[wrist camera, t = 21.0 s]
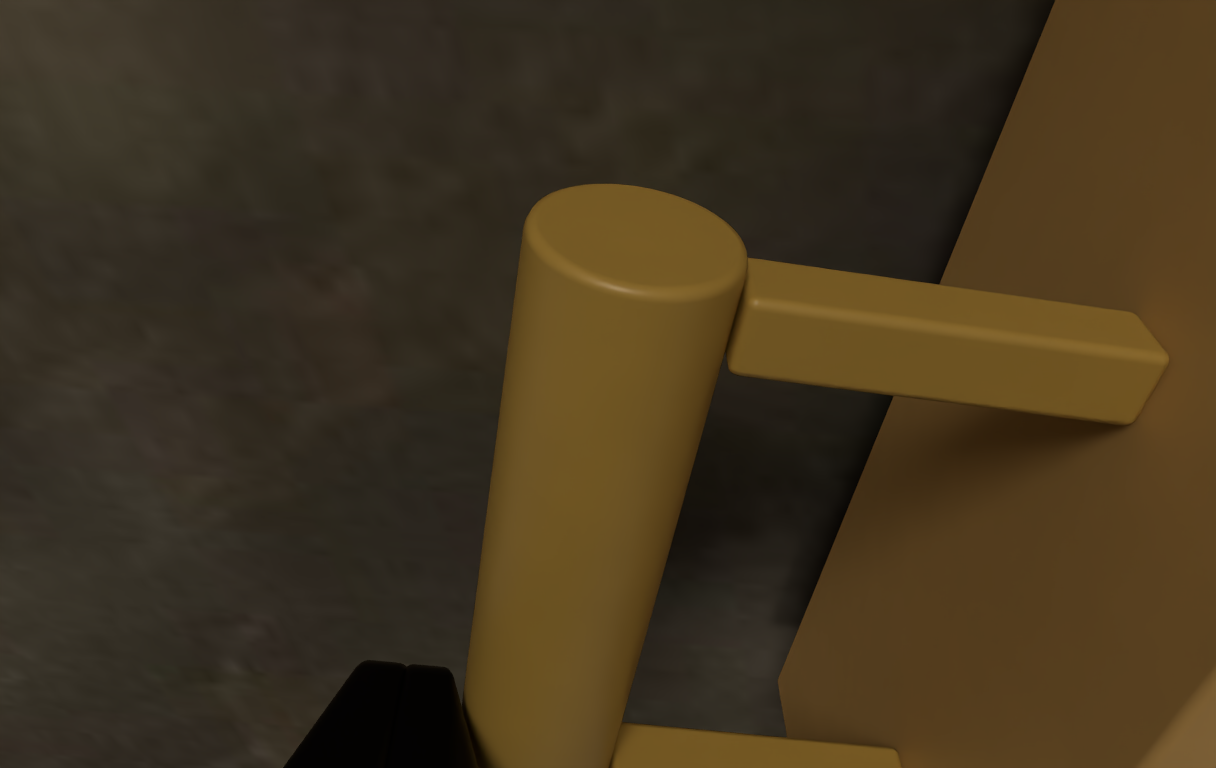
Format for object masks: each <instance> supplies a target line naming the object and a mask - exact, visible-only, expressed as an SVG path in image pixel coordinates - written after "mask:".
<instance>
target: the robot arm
mask: <svg viewBox="0 0 1216 768" xmlns="http://www.w3.org/2000/svg"><path fill="white" fill-rule="evenodd" d="M283 768H478V766H477V762H476V758H475V754H474V751H473V747H472V743H471V740H470V736H469V732H468V729H467V725H466V721H465V718H464V714H463V710H462V707H461V703H460V699H459V695H458V692H457V688H456V684H455V681H454V677H453V675H452V673H451V671H450V670H449V669H447V668H445V667H438V666H427V665H417V664H412V665H409V666H407V667H406V666H405V665H404V664H401V663H396V662H385V661H374V660H366V661H363V662H362V663H360V664H359V665H358V666H357V667H356V668H355V669H354V671H353V672H352V673H351V675H350V676H349V678H348V679H347V680H346V682H345V683H344V684H343V686H342V687H341V689H340V690H339V691H338V693H337V694H336V696H335V697H334V698H333V700H332V701H331V702H330V704H329V705H328V707H327V708H326V709H325V711H324V712H323V713H322V715H321V716H320V718H319V719H318V720H317V722H316V723H315V724H314V726H313V727H312V729H311V730H310V731H309V733H308V734H307V735H306V737H305V738H304V740H303V741H302V742H301V744H300V745H299V746H298V748H297V749H296V751H295V752H294V753H293V755H292V756H291V757H290V759H289V760H288V762H287V763H286V764H285V766H284V767H283Z"/></svg>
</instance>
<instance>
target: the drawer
mask: <svg viewBox="0 0 1216 768" xmlns="http://www.w3.org/2000/svg"><path fill="white" fill-rule="evenodd" d="M725 352H726V357H727V363H728V368H729V370H730V372H731V373H733V374H735V375H738V376H745V377H752V378H760V379H768V380H776V381H783V382H791V383H799V384H806V385H814V386H822V387H829V388H837V389H845V390H853V391H860V392H868V393H876V394H883V395H891V396H893V399H892V401H891V404H890V406H889V409H888V411H887V414H886V416H885V418H884V421H883V423H882V426H881V428H880V431H879V433H878V436H877V438H876V441H875V443H874V445H873V448H872V450H871V453H870V455H869V458H868V460H867V463H866V465H865V467H864V470H863V472H862V475H861V477H860V480H859V482H858V485H857V487H856V490H855V492H854V494H853V497H852V499H851V502H850V504H849V507H848V509H847V512H846V514H845V516H844V519H843V521H842V524H841V526H840V529H839V531H838V534H837V536H836V538H835V541H834V543H833V546H832V548H831V551H830V553H829V556H828V558H827V561H826V563H825V565H824V568H823V570H822V573H821V575H820V578H819V580H818V583H817V585H816V587H815V590H814V592H813V595H812V597H811V600H810V602H809V605H808V607H807V609H806V612H805V614H804V617H803V619H802V622H801V624H800V627H799V629H798V632H797V634H796V636H795V639H794V641H793V644H792V646H791V649H790V651H789V654H788V656H787V658H786V661H785V663H784V666H783V668H782V671H781V673H780V676H779V678H778V686H779V692H780V698H781V704H782V710H783V715H784V721H785V727H786V733H787V738H786V737H775V736H764V735H753V734H743V733H732V732H721V731H711V730H700V729H689V728H679V727H668V726H657V725H647V724H636V723H625V722H622V719H623V715H624V711H625V708H626V704H627V701H628V697H629V694H630V690H631V686H632V683H633V679H634V676H635V672H636V668H637V665H638V661H639V658H640V654H641V651H642V647H643V643H644V640H645V636H646V633H647V629H648V625H649V622H650V618H651V615H652V611H653V608H654V604H655V600H656V597H657V593H658V590H659V586H660V583H661V579H662V575H663V572H664V568H665V565H666V561H667V557H668V554H669V550H670V547H671V543H672V540H673V536H674V532H675V529H676V525H677V522H678V518H679V514H680V511H681V507H682V504H683V500H684V497H685V493H686V489H687V486H688V482H689V479H690V475H691V472H692V468H693V464H694V461H695V457H696V454H697V450H698V446H699V443H700V439H701V436H702V432H703V429H704V425H705V421H706V418H707V414H708V411H709V407H710V403H711V400H712V396H713V393H714V389H715V386H716V382H717V378H718V375H719V371H720V368H721V364H722V361H723V357H724V353H725ZM462 710H463V714H464V718H465V721H466V725H467V729H468V732H469V736H470V740H471V743H472V747H473V751H474V754H475V758H476V762H477V766H478V768H1216V0H1055V2H1054V5H1053V7H1052V10H1051V12H1050V14H1049V17H1048V19H1047V22H1046V24H1045V27H1044V29H1043V32H1042V34H1041V36H1040V39H1039V41H1038V44H1037V46H1036V49H1035V51H1034V54H1033V56H1032V59H1031V61H1030V63H1029V66H1028V68H1027V71H1026V73H1025V76H1024V78H1023V81H1022V83H1021V85H1020V88H1019V90H1018V93H1017V95H1016V98H1015V100H1014V103H1013V105H1012V107H1011V110H1010V112H1009V115H1008V117H1007V120H1006V122H1005V125H1004V127H1003V130H1002V132H1001V134H1000V137H999V139H998V142H997V144H996V147H995V149H994V152H993V154H992V156H991V159H990V161H989V164H988V166H987V169H986V171H985V174H984V176H983V179H982V181H981V183H980V186H979V188H978V191H977V193H976V196H975V198H974V201H973V203H972V205H971V208H970V210H969V213H968V215H967V218H966V220H965V223H964V225H963V227H962V230H961V232H960V235H959V237H958V240H957V242H956V245H955V247H954V250H953V252H952V254H951V257H950V259H949V262H948V264H947V267H946V269H945V272H944V274H943V276H942V279H941V281H940V284H932V283H925V282H918V281H911V280H904V279H897V278H890V277H882V276H875V275H868V274H861V273H854V272H847V271H840V270H833V269H826V268H819V267H812V266H805V265H798V264H791V263H784V262H777V261H770V260H763V259H756V258H749V257H748V258H747V252H746V248H745V245H744V243H743V241H742V239H741V238H740V236H739V235H738V234H737V232H736V231H735V230H734V229H733V228H732V227H731V226H730V225H729V224H728V223H727V222H725V221H724V220H723V219H721V218H720V217H719V216H717V215H716V214H714V213H712V212H711V211H709V210H708V209H706V208H704V207H702V206H700V205H698V204H696V203H693V202H691V201H689V200H686V199H684V198H681V197H678V196H675V195H672V194H669V193H665V192H662V191H658V190H654V189H649V188H644V187H639V186H632V185H623V184H584V185H578V186H572V187H568V188H563V189H560V190H558V191H555V192H552V193H550V194H548V195H546V196H545V197H543V198H542V199H540V200H539V201H538V202H537V203H536V204H535V205H534V206H533V208H532V209H531V211H530V212H529V214H528V216H527V218H526V219H525V223H524V227H523V235H522V242H521V250H520V258H519V266H518V273H517V281H516V289H515V297H514V304H513V312H512V320H511V328H510V335H509V343H508V351H507V359H506V366H505V374H504V382H503V390H502V397H501V405H500V413H499V421H498V429H497V436H496V444H495V452H494V460H493V467H492V475H491V483H490V491H489V498H488V506H487V514H486V522H485V529H484V537H483V545H482V553H481V560H480V568H479V576H478V584H477V591H476V599H475V607H474V615H473V622H472V630H471V638H470V646H469V653H468V661H467V669H466V677H465V684H464V692H463V700H462Z"/></svg>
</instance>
